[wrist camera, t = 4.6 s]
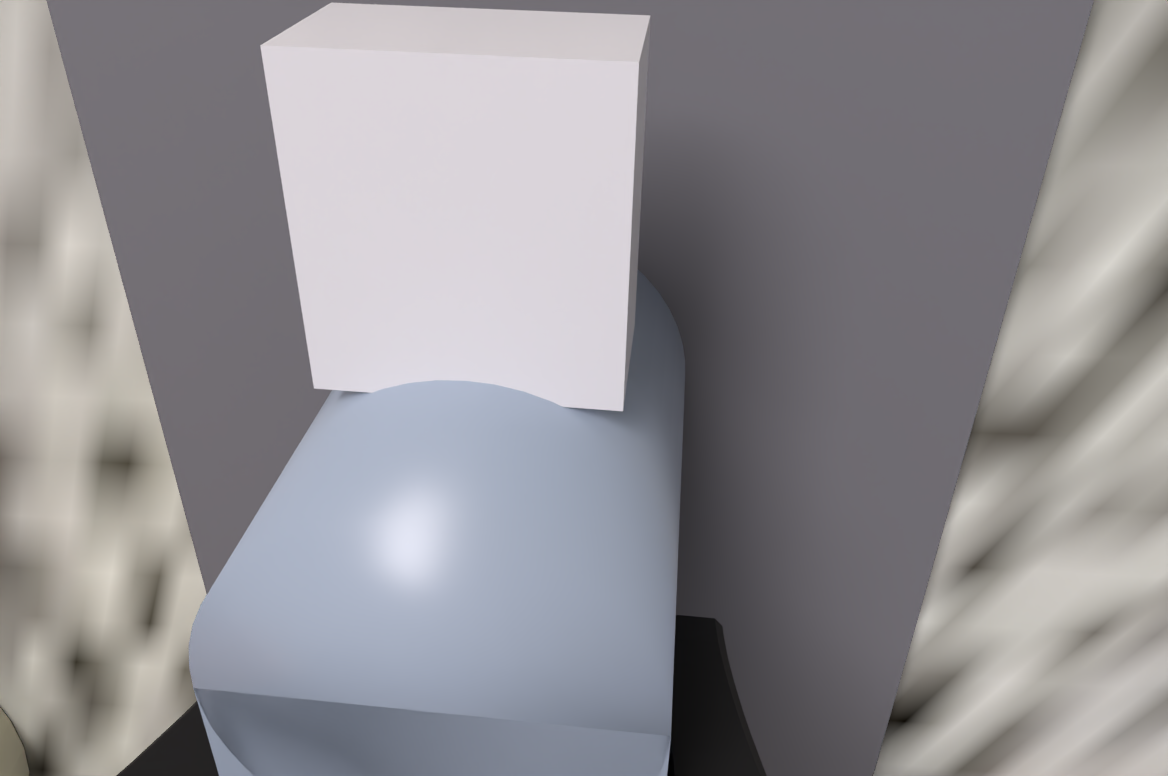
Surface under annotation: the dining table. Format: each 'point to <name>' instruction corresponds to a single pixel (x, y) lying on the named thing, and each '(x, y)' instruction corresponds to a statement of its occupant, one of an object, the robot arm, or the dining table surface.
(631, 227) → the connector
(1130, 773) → the dining table surface
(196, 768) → the robot arm
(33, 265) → the dining table surface
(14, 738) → the reusable coffee cup
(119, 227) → the mat
